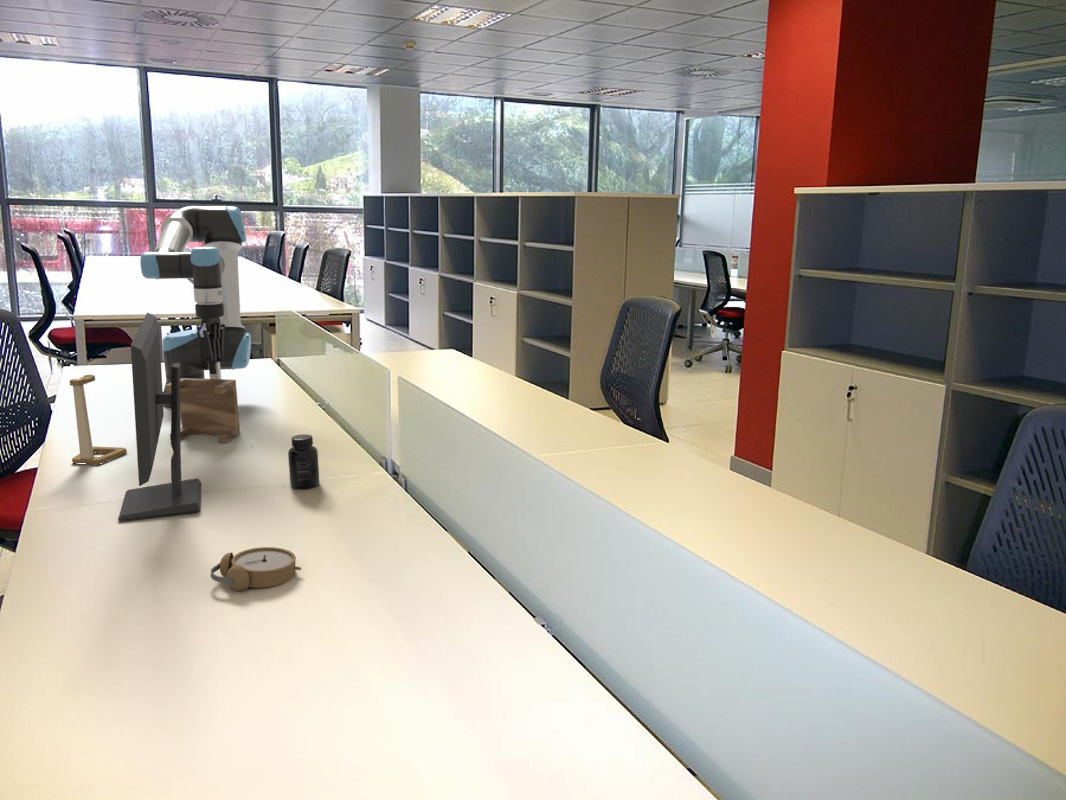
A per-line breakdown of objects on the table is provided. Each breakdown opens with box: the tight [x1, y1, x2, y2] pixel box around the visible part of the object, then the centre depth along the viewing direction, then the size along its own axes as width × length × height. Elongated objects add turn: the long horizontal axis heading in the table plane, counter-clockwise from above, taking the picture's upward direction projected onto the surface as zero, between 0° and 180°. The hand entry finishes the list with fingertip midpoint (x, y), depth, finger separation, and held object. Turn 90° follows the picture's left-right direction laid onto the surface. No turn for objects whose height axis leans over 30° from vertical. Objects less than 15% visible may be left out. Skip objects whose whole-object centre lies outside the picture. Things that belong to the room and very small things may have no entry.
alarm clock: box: [210, 546, 302, 592], centre depth 150 cm, size 11×5×15 cm
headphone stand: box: [69, 374, 128, 465], centre depth 212 cm, size 10×11×22 cm
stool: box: [164, 378, 241, 444], centre depth 232 cm, size 9×16×16 cm, turn 85°
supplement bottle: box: [287, 434, 320, 490], centre depth 196 cm, size 7×7×12 cm
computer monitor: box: [117, 312, 202, 522], centre depth 180 cm, size 44×16×40 cm, turn 21°
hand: (216, 384), depth 239 cm, fingers closed
